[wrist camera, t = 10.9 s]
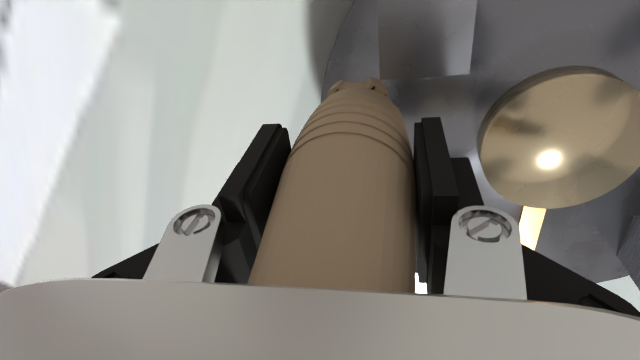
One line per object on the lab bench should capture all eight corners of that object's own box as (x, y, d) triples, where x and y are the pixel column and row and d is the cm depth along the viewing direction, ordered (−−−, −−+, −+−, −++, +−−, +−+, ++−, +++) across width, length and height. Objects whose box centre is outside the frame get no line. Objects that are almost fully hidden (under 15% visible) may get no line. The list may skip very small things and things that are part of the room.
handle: (397, 181, 17) (411, 798, 5) (271, 122, 16) (-59, 685, 4) (461, 95, 14) (830, 1016, 2) (314, 19, 14) (-297, 808, 2)
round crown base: (302, -117, 14) (243, -141, 9) (993, -244, 10) (1722, -443, 5) (346, 247, 26) (332, 339, 20) (684, 256, 21) (787, 377, 16)
